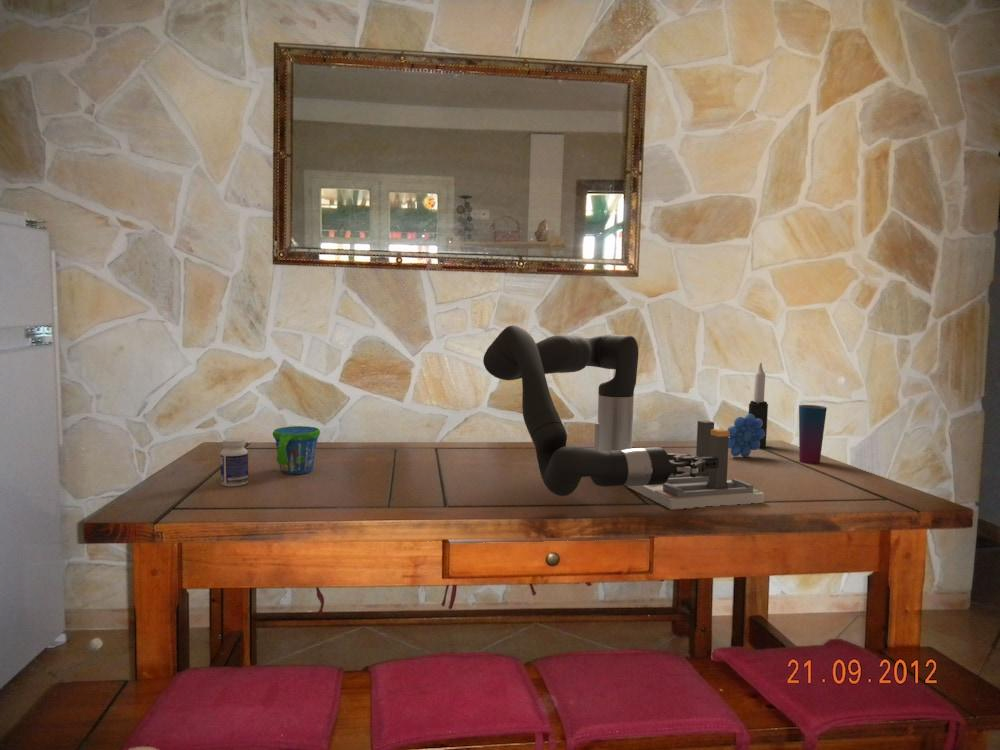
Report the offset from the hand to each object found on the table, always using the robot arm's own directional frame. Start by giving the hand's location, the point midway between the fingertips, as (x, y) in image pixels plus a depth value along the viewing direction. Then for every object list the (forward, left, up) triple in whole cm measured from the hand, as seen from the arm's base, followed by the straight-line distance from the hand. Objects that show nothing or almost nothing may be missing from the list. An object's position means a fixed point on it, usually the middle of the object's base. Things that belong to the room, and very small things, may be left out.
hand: (716, 462), depth 150 cm
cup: (+14, +56, -9) cm, 58 cm away
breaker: (0, +2, -6) cm, 6 cm away
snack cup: (-92, -25, -9) cm, 96 cm away
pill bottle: (-95, -41, -9) cm, 104 cm away
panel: (-5, +4, -9) cm, 11 cm away
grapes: (-3, +54, -9) cm, 55 cm away
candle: (-2, +72, -9) cm, 73 cm away
